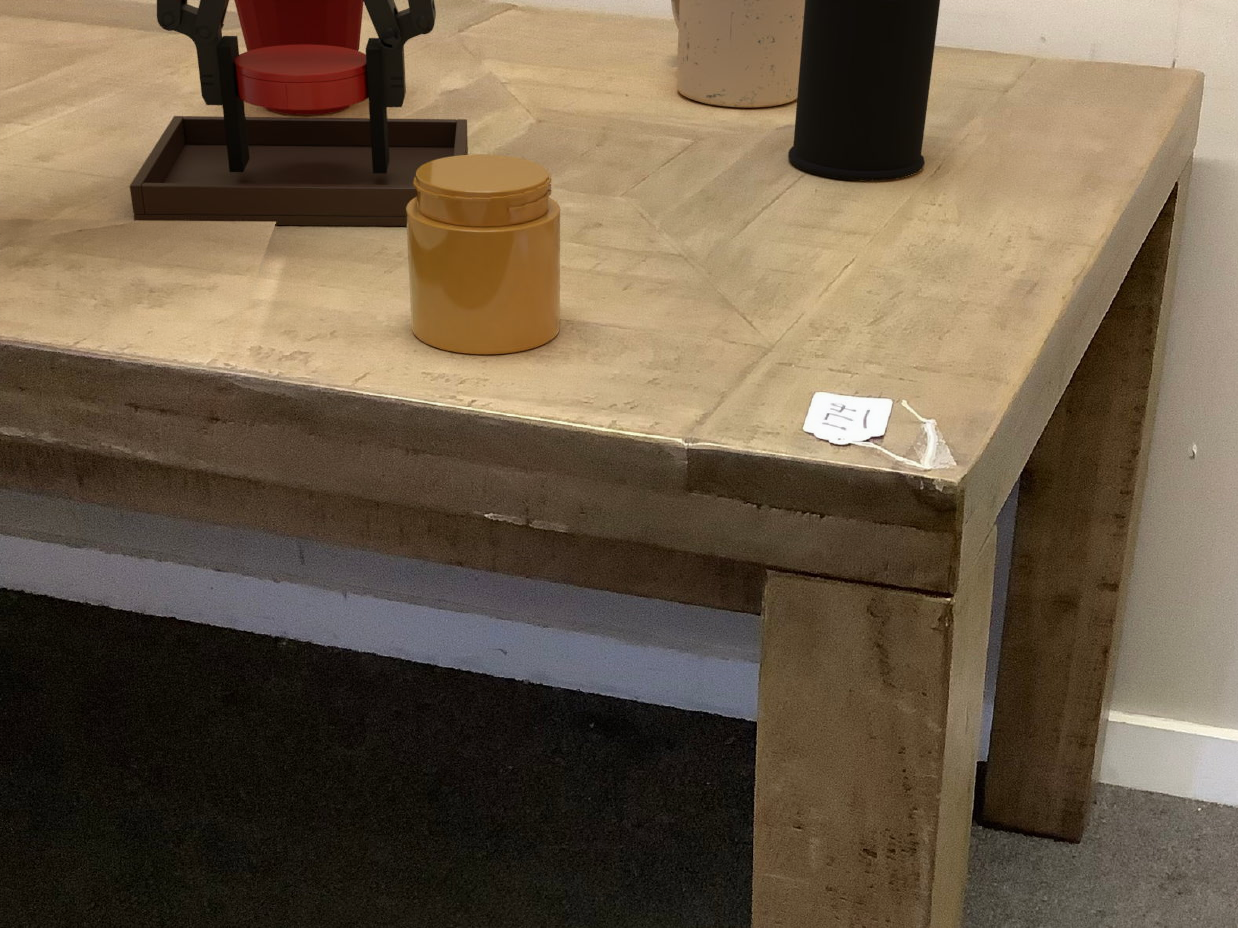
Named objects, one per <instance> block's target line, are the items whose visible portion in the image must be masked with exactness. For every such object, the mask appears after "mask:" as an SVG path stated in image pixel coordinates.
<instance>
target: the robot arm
mask: <svg viewBox="0 0 1238 928" xmlns="http://www.w3.org/2000/svg"><path fill="white" fill-rule="evenodd" d="M363 1H364V2H363V5H364V6H365V8H366V10H367V14H368V16H369V18H370V20H371V23H372V25H373V28H374V30H375V33H376V35H377V37H369V38H368V39H367V43H366V46H365V54H366V65H367V81H368V112H369V113H368V114H369V115H368V116H369V118H370V132H371V148H372V165H373V173H384V174H387V169H388V164H389V143H388V124H387V118H388V108H402V107H403V104H404V101H405V98H406V94H407V84H406V66H405V65H406V63H405V62H406V61H405V45H406V43H407V42H408V41H409V40H410V39H412V38H415V37H418V36H420V35H428V34H430V33H431V32H432V31H433V30H434V27H435V23H436V17H437V10H436V4H435V3H436V2H435V0H407V2H408V3H407V4H408V8H405V9H403V10H400V11H399V10H398V7H397V5H396V2H395V0H363ZM229 4H230V0H199V4H198V7H196V6H194V5H191V4H189V3H188V0H156V20H157V23H158V25H159V27H161V29H163V30H165V31H168V32H173V31H174V32H176V33H179V34H182V35H185V36H187V37H188V38H189V39H191V40H192V42H193V44H194V46H195V49H196V56H197V65H198V74H199V82H200V93H201V97H202V99H203V101H204V103H205V105H206V106H222V114H223V117H224V124H225V133H226V143H227V152H228V162H229V171H230V172H244V170H245V167H246V165H247V163H248V161H249V159H250V158H249V148H248V138H247V128H246V118H245V117H246V110H245V109H246V108H245V102H244V101H242V100H241V99H240V98H239V97H238V91H237V82H236V72H235V62H234V61H235V59H236V57H237V56H238V55H240V49H239V39H238V35H223V33H222V32H223V31H222V30H223V28H224V25H225V24H224V22H225V20H226V19H225V18H226V14H227V10H228V6H229Z"/></svg>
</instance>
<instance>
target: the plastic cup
mask: <svg viewBox="0 0 1238 928" xmlns="http://www.w3.org/2000/svg"><path fill="white" fill-rule="evenodd" d="M233 1H234V4H235V9H236V13H237V16H238V20H239V24H240V28H241V32H242V36H243V40H244V44H245V48H246V52H247V51H250V50H254V49H259V48H264V47H271V46H281V45H328V46H337V47H344V48H349V49H353V50H356V51H359V50H360V44H361V32H362V23H363V12H364V1H363V0H233ZM349 108H351V105H349V106H345V107H339V108H332V109H323V110H281V109H271V108H266V110H269V111H271V112H274V113H278V114H283V115H284V114H285V115H291V116H319V115H320V116H321V115H327V114H332V113H338V112H342V111H345V110H347V109H349Z"/></svg>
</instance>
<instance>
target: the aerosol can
mask: <svg viewBox="0 0 1238 928" xmlns="http://www.w3.org/2000/svg"><path fill="white" fill-rule="evenodd" d="M940 4H941V0H805V8H804V21H803V33H802V45H801V58H800V70H799V82H798V95H797V99H796V108H795V121H794V131H793V132H794V134H793V145H792V146H791V147H790V148H789V150H788V152H787V157H788V160H789V161H790V163H791V164H792V165H793V166H795V167H796V168H798V169H800V170H802V171H805V172H808V173H811V174H812V175H817V176H821V177H826V178H831V179H838V180H849V181H861V180H865V181H870V180H873V181H874V182H875V181H876V182H877V181H890V180H897V179H896V178H899V179H903V178H906V177H905V176H908V175H911V174H913V175H915V174H914V173H916V174H917V173H918V171H919V170H920V169H921V170H922V169H923V168H924V166H925V164H926V163H925V158H924V156H923V155H922V152H923V145H924V134H925V127H926V126H925V125H926V120H927V119H926V118H927V112H928V111H927V110H928V103H929V95H930V86H931V79H932V78H931V77H932V72H933V71H932V69H933V62H934V55H935V48H936V47H935V46H936V39H937V38H936V37H937V30H938V21H939V13H940V7H941V6H940ZM921 170H920V171H921ZM920 171H919V172H920ZM911 176H912V175H911ZM902 177H903V178H902ZM908 177H909V176H908ZM873 181H872V182H873ZM870 182H871V181H870Z"/></svg>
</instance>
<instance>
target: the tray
mask: <svg viewBox="0 0 1238 928" xmlns="http://www.w3.org/2000/svg"><path fill="white" fill-rule="evenodd" d="M245 118H246V128H247V138H248V148H249V158H250V159H249V161H248V163H247V165H246V167H245V170H244V172H230V171H229V162H228V152H227V143H226V133H225V124H224V116H215V115H214V116H212V115H209V116H208V115H207V116H206V115H205V116H204V115H203V116H202V115H185V116H184V115H173V117H172V119H171V120H170V121H169V123H168V125H167V126H166V128H165V130H164V131H163V133H162V134H161V136H160V137H159V139H158V141H157V142H156V143H155V145H154V147H153V148H152V150H151V152H150V153H149V155H148V156H147V158H146V160H145V161H144V162H143V164H142V165H141V167H140V169H139V170H138V171H137V174H136V175H135V176H134V178H133V180H132V182H131V183H130V185H129V193H130V200H131V206H132V213H133V214H132V215H133V220H134V221H139V222H140V221H141V222H143V221H144V222H146V221H147V222H148V221H149V222H152V221H153V222H158V221H159V222H160V221H161V222H259V223H260V222H264V223H265V222H267V223H274V222H275V224H274V225H275V226H339V227H340V226H341V227H342V226H345V227H347V226H351V227H352V226H357V227H363V226H364V227H365V226H366V227H407V222H406V206H407V204H408V203H409V201H411V200H412V199H413V198H415V197H417V192H416V188H415V187H414V186H413V182H414V177H416V171H417V169H418V168H419V167H420V166H422V165H423V164H425V163H428V162H430V161H433V160H437V159H441V158H445V157H451V156H459V155H469V144H468V143H469V142H468V138H469V137H468V120H467V119H463V118H457V119H456V118H388V117H387V124H388V143H389V164H388V169H387V174H384V173H373V165H372V148H371V132H370V117H303V116H302V117H300V116H299V117H298V116H296V117H295V116H293V117H292V116H291V117H289V116H245Z"/></svg>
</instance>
